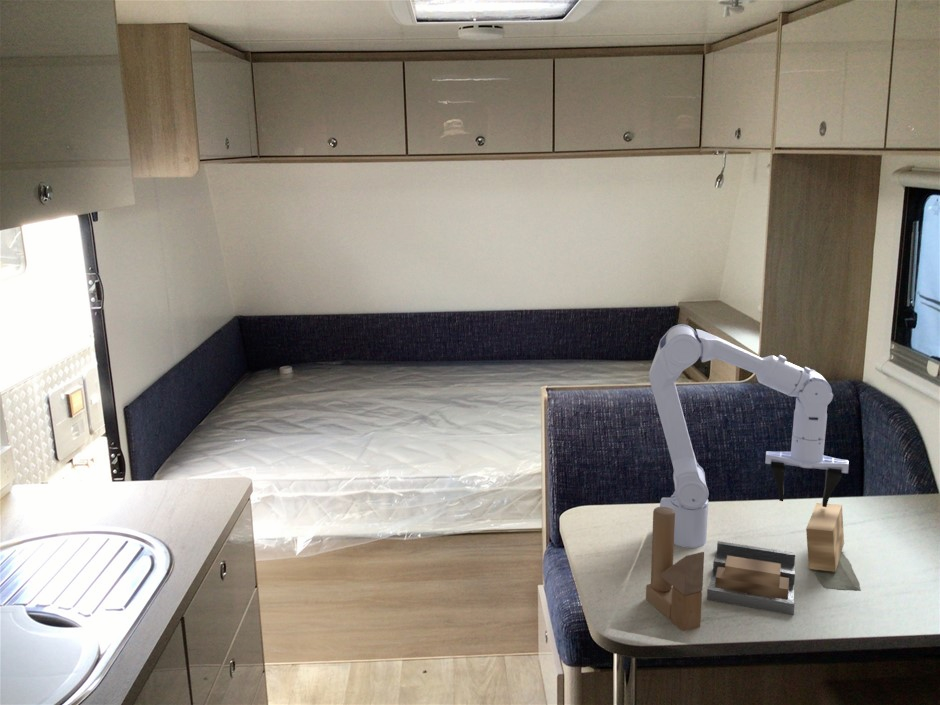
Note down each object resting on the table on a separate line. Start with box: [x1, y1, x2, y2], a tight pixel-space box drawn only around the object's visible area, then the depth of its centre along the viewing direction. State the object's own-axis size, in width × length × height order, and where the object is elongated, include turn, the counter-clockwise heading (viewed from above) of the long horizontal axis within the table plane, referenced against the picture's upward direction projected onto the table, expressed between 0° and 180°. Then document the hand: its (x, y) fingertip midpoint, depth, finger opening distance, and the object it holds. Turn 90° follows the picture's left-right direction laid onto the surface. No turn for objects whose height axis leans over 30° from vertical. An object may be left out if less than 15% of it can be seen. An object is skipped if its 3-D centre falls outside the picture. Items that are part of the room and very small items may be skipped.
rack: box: [706, 540, 796, 616], centre depth 143 cm, size 14×19×3 cm
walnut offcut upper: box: [725, 555, 781, 588], centre depth 139 cm, size 9×4×2 cm, turn 68°
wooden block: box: [645, 506, 705, 632], centre depth 132 cm, size 4×11×18 cm, turn 22°
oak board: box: [805, 502, 845, 572], centre depth 149 cm, size 12×4×8 cm, turn 148°
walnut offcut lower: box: [715, 567, 789, 600], centre depth 140 cm, size 12×4×2 cm, turn 68°
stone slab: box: [814, 551, 862, 592], centre depth 150 cm, size 22×3×10 cm
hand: (802, 502), depth 153 cm, fingers open, 7 cm apart
